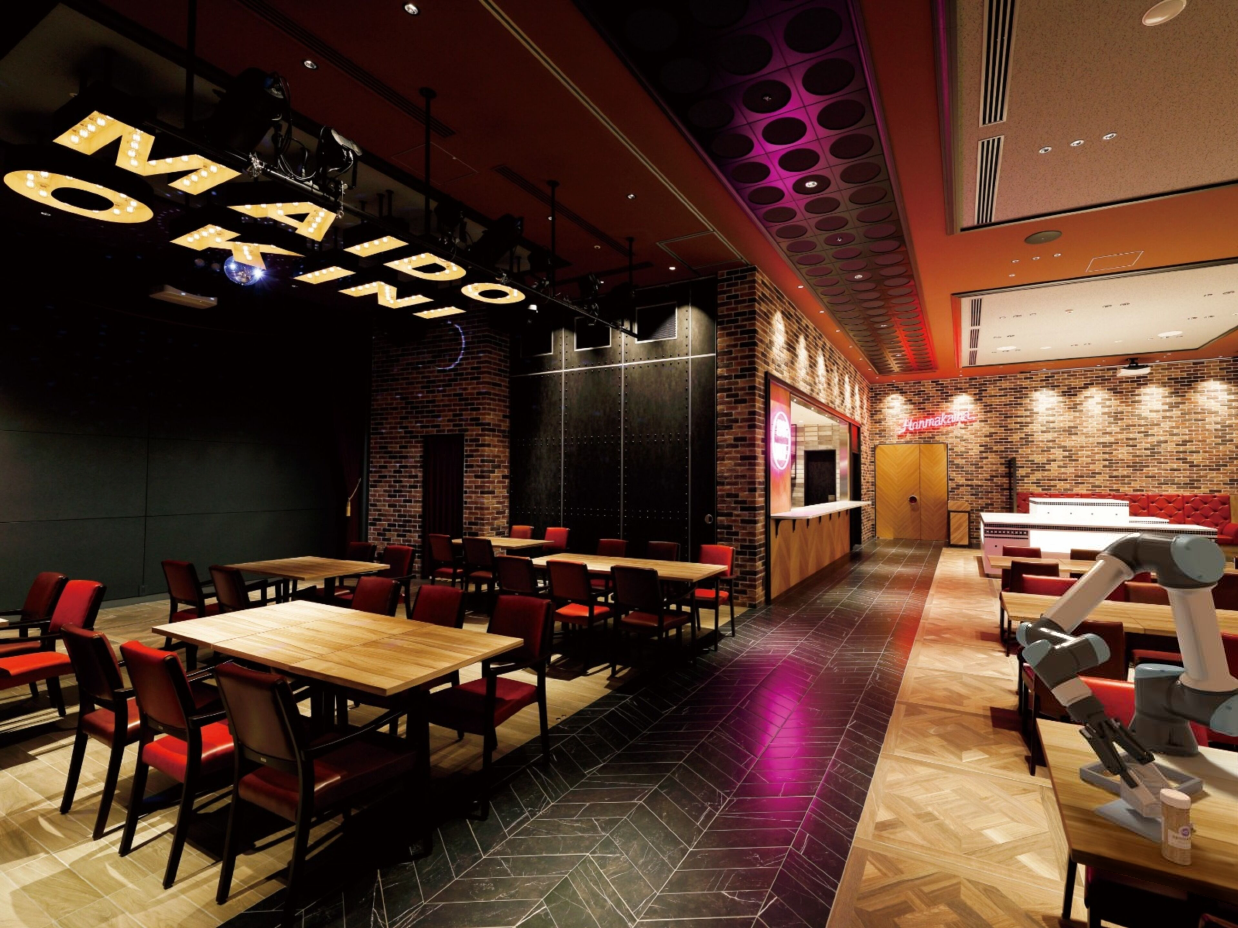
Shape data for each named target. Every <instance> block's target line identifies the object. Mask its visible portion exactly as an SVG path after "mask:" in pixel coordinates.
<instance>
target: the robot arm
mask: <svg viewBox="0 0 1238 928" xmlns="http://www.w3.org/2000/svg"><path fill="white" fill-rule="evenodd" d="M1226 568H1227V559H1226V556H1225V552H1223V550H1222V548H1221V547H1220V546H1219V545H1218V544H1217V543H1216V542H1214V541H1212V540H1211V539H1209V538H1207V537H1205V536H1204V537H1203V536H1197V535H1193V534H1188V533H1185V534H1183V533H1172V532H1159V531H1151V530H1141V531H1135V532H1132V533H1130V534H1127V535H1124V536H1122V537H1120V538H1118V539H1116V540H1115V541H1113V542H1112V543H1110V544H1108V546H1106V547H1105V548H1104V549H1102V551H1100V553H1098V554H1097V555H1096V557H1095V563H1094V564H1093V565H1092V566H1091V567H1090V568H1089V569H1088V570H1087V571H1085V572H1084V574H1083V575H1082V576H1081V577H1080V578H1079V579H1078V580H1077V581H1076V582H1075V583H1074V584H1073V585H1072V586H1071V587H1070V588H1069V589H1068V590H1067V591H1066V592H1065V593H1064V594H1063V595H1061V596H1060V598H1058V600H1056V601H1055V602H1054V604H1052V605H1051V606H1050V608H1048V609H1047V610H1046V611H1045V612H1044V613H1043V614H1042V615H1041V616H1040V618H1038V619H1037V620H1036V621H1035V622H1033V621H1025V622H1022V623H1021V624H1019V625H1018V626H1017V629H1016V631H1015V636H1016V637H1015V638H1016V640H1017V642H1018V643H1019V644H1020V645H1021V646H1023V647H1025V648H1023V650H1022V652H1021V654H1022V657H1023V658H1024V660H1025V661H1026V662H1027V664H1028V665H1029V666H1030V668H1031V669H1032V670H1033V671H1034V673H1035V674H1036V675H1037V676H1038V677H1039V679H1040V680H1041V681H1042V682H1043V683H1044V684H1045V686H1046V687H1047V688H1048V689H1049V691H1050V692H1051V693H1052V694H1053V695H1054V696H1055V699H1057V701H1059V703H1060V704H1061V705H1062V706H1065V707H1066V708H1065V710H1066V712H1067V713H1068V714H1069V716H1071V718H1072V719H1073V720H1074V721H1075V722H1076V723H1082V725H1083V726H1084V727H1082V728H1080V729H1078V732H1079V734H1080V735H1081V736H1082V738H1084V739H1085V740H1086V742H1087V743H1088V745H1089V746H1090V747H1091V749H1092V751H1093V752H1094V753H1095V755H1096V756H1097V757H1098V759H1099V761H1100V760H1101V762H1102V763H1103V765H1104V766H1105V768H1106V769H1107V770H1108V773H1109V774H1112V775H1113V776H1114V777H1117V776H1119V777H1120V776H1121V778H1122V779H1123V780H1124V781H1125V782H1126V784H1127V785H1128V786H1129V787H1130V788H1131V789H1132V791H1133V792H1134V793H1135V794H1136V796H1137V797H1138V798H1139V799H1140V800H1141V802H1142V803H1143V804H1144V805H1147V804H1150V803H1152V802H1155V801H1157V800H1156V799H1155V798H1154V796H1153V795H1152V794H1151V793H1150V792H1149V790H1148V789H1147V788H1146V787H1145V786H1144V784H1143V783H1142V782H1141V781H1140V780H1139V778H1138V777H1137V776H1136V775H1135V774H1134V772H1133V771H1132V770H1129V771H1128V769H1127V767H1126V765H1125V764H1124V762H1123V760H1122V758H1121V756H1120V755H1119V754H1120V753H1119V751H1118V749H1117V748H1116V745H1117V746H1119V747H1120V748H1121V749H1122V750H1123V752H1127V753H1128V754H1129V755H1130V756H1132V757H1133V758H1134V759H1135V760H1136V761H1137V762H1139V763H1140V764H1141V765H1144V767H1145V768H1146V769H1148V770H1149V771H1151V772H1152V773H1154V774H1155V775H1156V776H1158V777H1159V778H1160V779H1162V780H1163V781H1164V789H1172V790H1175V788H1174V787H1175V786H1173V785H1172V784H1171V782H1170V781H1169V780H1168V779H1167V777H1165V776H1163V775H1162V773H1161V772H1160V771H1159V770H1158V769H1157V767H1156V766H1155V765H1154V764H1153V763H1152V761H1154V762H1155V761H1156V758H1155V755H1154V754H1153V753H1152V752H1151V751H1153V752H1157V753H1161V754H1166V755H1168V756H1169V755H1170V756H1175V757H1184V758H1185V757H1188V758H1189V757H1196V756H1198V754H1199V744H1198V742H1197V740H1196V736H1195V735H1194V732H1193V729H1192V728H1191V725H1190V722H1192V723H1194V724H1198V725H1200V726H1202V727H1205V728H1207V729H1210V730H1211V731H1213V732H1214V733H1220V734H1224V735H1227V736H1230V737H1238V679H1237V678H1236V677H1234V676H1232V675H1231V674H1230V670H1229V666H1228V661H1227V656H1226V652H1225V648H1224V647H1225V646H1224V643H1223V642H1224V641H1223V638H1222V633H1221V629H1220V625H1219V620H1218V616H1217V612H1216V606H1215V603H1214V598H1213V594H1212V590H1213V589H1214V588H1215V587H1216V586H1218V581H1219V580H1220V579H1221V578H1222V577H1223V576H1224V575H1225V573H1226V572H1225V571H1224V570H1225V569H1226ZM1144 572H1146V573H1151V574H1152V573H1153V574H1155V576H1156V581H1157V584H1158V586H1160V587H1161V588H1163V589H1165V590H1166V592H1167V595H1168V596H1167V597H1168V601H1169V605H1170V610H1171V613H1172V614H1171V615H1172V618H1173V622H1174V627H1175V628H1174V629H1175V632H1176V636H1177V641H1178V645H1179V650H1180V655H1181V658H1182V659H1181V660H1182V663H1183V667H1181V666H1177V665H1169V664H1160V663H1141V664H1140V663H1139V664H1138V665H1136V666H1135V667H1134V677H1133V682H1134V683H1133V684H1134V685H1133V686H1134V688H1133V689H1134V714H1133V716H1132V719H1131V721H1130V723H1129V725H1128V727H1126V725H1125V724H1124V723H1123V721H1122V720H1121V718H1120V717H1119V716H1116V717H1114V718H1111V717H1109V716H1107V714H1106V713H1105V712H1104V711H1106V709H1107V708H1106V706H1105V704H1104V703H1102V701H1101V700H1100V699H1099V698H1098V697H1097V696H1096V695H1094V694H1092V693H1093V691H1092V690H1091V688H1090V687H1089V686H1088V685H1087V684H1086V683H1085V682H1084V681H1083V679H1081V677H1080V676H1079V674H1077V673H1078V672H1081V671H1084V670H1088V669H1090V668H1093V667H1097V666H1099V665H1100V664H1102V663H1104V662H1107V661H1108V660H1110V659H1109V658H1110V657H1111V652H1110V648H1109V646H1108V644H1107V643H1106V641H1105V640H1104V639H1103V638H1102V637H1100V636H1098V635H1096V634H1094V633H1086V634H1081V635H1079V636H1076V635H1072V634H1071V633H1072V632H1073V631H1074V630H1075V629H1076V628H1077V627H1078V626H1079V625H1080V624H1082V622H1083V621H1084V620H1085V619H1086V618H1087V617H1088V616H1089V615H1090V614H1091V613H1092V612H1093V611H1094V610H1096V609H1097V607H1098V606H1099V605H1101V604H1102V602H1104V600H1105V599H1107V597H1108V596H1109V595H1110V594H1111V593H1113V592H1114V590H1116V589H1117V588H1118V587H1119V585H1120V584H1122V583H1123V582H1124V581H1128V580H1132V579H1133V578H1134V577H1135V576H1137V574H1140V573H1144ZM1114 743H1115V744H1116V745H1115V744H1114ZM1150 750H1151V751H1150ZM1110 765H1111V766H1110ZM1119 765H1120V766H1119Z"/></svg>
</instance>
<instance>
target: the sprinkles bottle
mask: <svg viewBox="0 0 1238 928" xmlns="http://www.w3.org/2000/svg"><path fill="white" fill-rule="evenodd" d="M1160 799H1161V806H1162V807H1161V838H1162V843H1161V855H1162V857H1164V858H1165V859H1166V860H1168V861H1170V862H1172V863H1174V864H1178V865H1180V866H1181V865H1182V866H1190V865H1191V864H1192V860H1191V858H1192V857H1191V849H1192V844H1191V843H1192V841H1191V840H1192V839H1191V836H1192V835H1191V834H1192V833H1191V829H1190V821H1191V819H1190V817H1191V815H1190V810H1191V807H1192V804H1191V803H1192V801H1191V798H1190V796H1187V795H1186V794H1184V793H1181V792H1179V791H1176V790H1172V789H1162V790H1161V791H1160Z"/></svg>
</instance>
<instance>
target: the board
mask: <svg viewBox="0 0 1238 928" xmlns="http://www.w3.org/2000/svg"><path fill="white" fill-rule="evenodd" d="M1094 814H1095V815H1097V816H1100V817H1102V818H1104V819H1105V820H1108V821H1110V822H1112V823H1115V824H1117V825H1118V826H1121V827H1123V828H1125V829H1127V830H1130V831H1132V832H1134V833H1135V834H1138V835H1139V836H1142V837H1145V838H1147V839H1148V840H1150V841H1153V842H1155V843H1157V844H1162V838H1161V819H1159V818H1148V817H1143V816H1142V815H1141V814H1140V813H1139V812H1137V811H1136V810H1135V809H1134V808H1133V807H1131V806H1130V805H1129V804H1128V803H1127V802H1125V801H1124V800H1123V799H1122V798H1121V797H1120V798H1118V799H1117V798H1116V799H1115V800H1113V801H1110V802H1107V803H1105V804H1102V805H1100V806H1097V807H1095V808H1094ZM1193 826H1194V822H1193V821H1191V820H1190V830H1191V829H1192V828H1193Z"/></svg>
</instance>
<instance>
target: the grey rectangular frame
mask: <svg viewBox="0 0 1238 928" xmlns="http://www.w3.org/2000/svg"><path fill="white" fill-rule="evenodd" d="M1119 755H1120V756H1121V758H1122V760H1123V762H1124V763H1134V764H1140V763H1139V762H1137V761H1136V760H1135V759H1134V758H1133V757H1132V756H1130V755H1129V754H1128V753H1127V752H1126V751H1123V752H1121V753H1119ZM1152 763H1153V764H1154V765H1155V766H1156V767H1157V769H1158V770H1159V771H1160V772H1161V773H1162V775H1163V776H1164V777H1165V778H1167V777H1168V779H1171V780H1173V781H1175V782H1178V783H1180V784H1179V785H1176V786H1173V787H1174V788H1175V790H1176V791H1179V792H1181V793H1184V794H1186V795H1187V796H1188V797H1190V796H1191V795H1193V794H1196V793H1198V792H1200V791H1202V790H1204V786H1203V785H1204V780H1203V779H1202V778H1200V777H1198V776H1197V777H1196V776H1194V775H1191V774H1188V773H1186V772H1183V771H1181V770H1178V769H1175V768H1172V767H1170V766H1166V765H1165V764H1161V763H1159V762H1155V760H1154V761H1152ZM1110 766H1111V765H1110ZM1119 766H1120V765H1119ZM1142 766H1144V765H1142ZM1104 771H1105V772H1107V769H1106V768H1105V766H1104V765H1103V763H1102V762H1101V760H1100V759H1099V760H1097V761H1095V762H1092V763H1089V764H1086V765H1083V766H1081V767H1079V771H1078V772H1079V778H1081V779H1083V780H1085V781H1088V782H1090V783H1091V784H1092V783H1093V784H1094V785H1096V786H1099V787H1101V788H1103V789H1106V790H1108V789H1109V790H1108V791H1110V792H1113V791H1114V792H1113V793H1115V792H1116V794H1118V795H1120V796H1121V789H1120V782H1119V781H1116V780H1115V779H1113V778H1110V777H1107V776H1105V775H1102V774H1101V773H1104Z"/></svg>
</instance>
